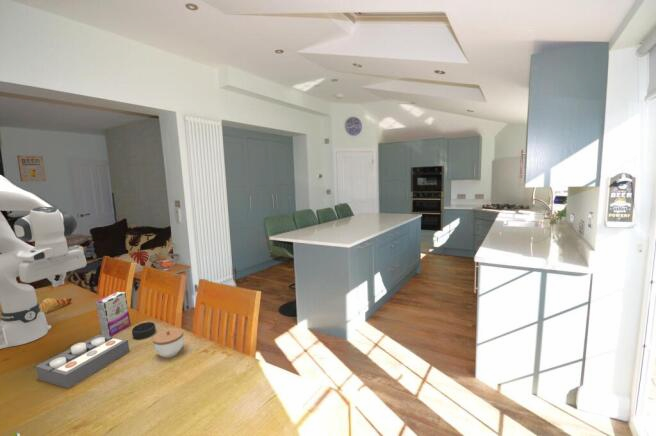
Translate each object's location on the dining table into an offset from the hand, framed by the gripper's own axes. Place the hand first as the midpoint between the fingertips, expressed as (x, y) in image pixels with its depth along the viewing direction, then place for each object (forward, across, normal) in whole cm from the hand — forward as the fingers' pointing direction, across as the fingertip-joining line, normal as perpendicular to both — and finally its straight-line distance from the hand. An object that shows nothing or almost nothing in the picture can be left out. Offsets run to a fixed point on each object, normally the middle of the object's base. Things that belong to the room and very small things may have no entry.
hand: (58, 285), depth 118 cm
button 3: (+28, -5, +9) cm, 29 cm away
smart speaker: (+30, -21, +14) cm, 39 cm away
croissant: (+30, -25, -61) cm, 72 cm away
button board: (+29, +2, +12) cm, 32 cm away
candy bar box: (+29, -20, -2) cm, 36 cm away
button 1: (+28, +9, +9) cm, 30 cm away
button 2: (+26, +2, +9) cm, 27 cm away
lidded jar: (+29, -13, +37) cm, 49 cm away
